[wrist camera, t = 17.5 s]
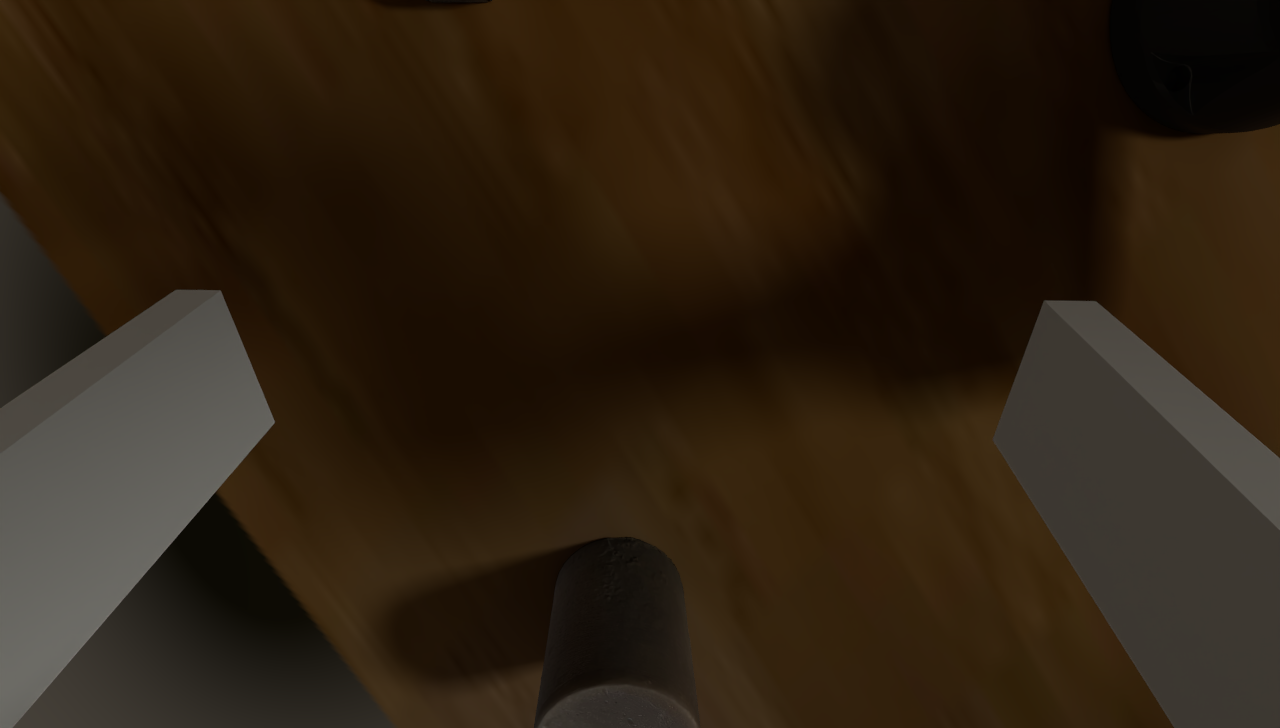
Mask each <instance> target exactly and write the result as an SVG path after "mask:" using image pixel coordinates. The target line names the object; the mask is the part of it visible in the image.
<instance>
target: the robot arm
mask: <svg viewBox="0 0 1280 728" xmlns="http://www.w3.org/2000/svg"><path fill="white" fill-rule="evenodd" d="M1110 39H1111V48H1112V54H1113V59H1114V62H1115V66H1116V69H1117V72H1118V75H1119V77H1120V80H1121V82H1122V84H1123V86H1124V88H1125V89H1126V91H1127V93H1128V94H1129V96H1130V97H1131V98H1132V100H1133V101H1134V102H1135V103H1136V105H1137V106H1138V107H1139V108H1140V109H1141V110H1142V111H1143V112H1145V113H1146V114H1147V115H1148V116H1150V117H1151V118H1153V119H1154V120H1156V121H1157V122H1159V123H1161V124H1163V125H1165V126H1167V127H1170V128H1172V129H1176V130H1179V131H1183V132H1188V133H1196V134H1214V133H1238V132H1248V131H1254V130H1259V129H1264V128H1268V127H1272V126H1275V125H1278V124H1280V0H1113V1H1112V7H1111V17H1110ZM274 423H275V421H274V419H273V416H272V414H271V411H270V409H269V407H268V404H267V402H266V399H265V397H264V394H263V392H262V390H261V387H260V385H259V382H258V380H257V377H256V375H255V373H254V370H253V368H252V365H251V363H250V360H249V358H248V356H247V353H246V351H245V348H244V346H243V343H242V341H241V339H240V336H239V334H238V331H237V329H236V326H235V324H234V322H233V319H232V317H231V314H230V312H229V309H228V307H227V305H226V302H225V300H224V297H223V295H222V292H221V290H175V291H173V292H172V293H170V294H169V295H168V296H166V297H165V298H163V299H162V300H160V301H159V302H157V303H156V304H154V305H153V306H151V307H150V308H148V309H147V310H145V311H144V312H142V313H141V314H139V315H138V316H136V317H135V318H133V319H132V320H130V321H129V322H127V323H126V324H125V325H123V326H122V327H120V328H119V329H117V330H116V331H114V332H113V333H111V334H110V335H108V336H107V337H105V338H104V339H102V340H101V341H99V342H98V343H97V344H95V345H93V346H92V347H90V348H89V349H88V350H86V351H85V352H83V353H81V354H80V355H79V356H77V357H76V358H74V359H73V360H71V361H70V362H68V363H67V364H65V365H64V366H62V367H61V368H59V369H58V370H56V371H55V372H53V373H52V374H50V375H49V376H47V377H46V378H44V379H43V380H41V381H40V382H39V383H37V384H36V385H34V386H33V387H31V388H30V389H28V390H27V391H25V392H24V393H22V394H21V395H20V396H18V397H16V398H15V399H13V400H12V401H10V402H9V403H7V404H6V405H5V406H3V407H1V408H0V728H13V727H14V726H15V724H16V723H17V722H18V721H19V720H20V719H21V717H22V716H23V715H24V714H25V713H26V712H27V710H28V709H29V708H30V707H31V706H32V705H33V703H34V702H35V701H36V700H37V699H38V697H39V696H40V695H41V694H42V693H43V692H44V691H45V690H46V688H47V687H48V686H49V685H50V684H51V683H52V681H53V680H54V679H55V678H56V677H57V675H58V674H59V673H60V672H61V671H62V670H63V669H64V667H65V666H66V665H67V664H68V663H69V662H70V660H71V659H72V658H73V657H74V656H75V655H76V653H77V652H78V651H79V650H80V649H81V648H82V646H83V645H84V644H85V643H86V642H87V641H88V639H89V638H90V637H91V636H92V635H93V634H94V632H95V631H96V630H97V629H98V628H99V627H100V626H101V624H102V623H103V622H104V621H105V620H106V619H107V617H108V616H109V615H110V614H111V613H112V612H113V610H114V609H115V608H116V607H117V606H118V605H119V603H120V602H121V601H122V599H124V598H125V596H126V595H127V594H128V593H129V592H130V591H131V589H132V588H133V587H134V586H135V585H136V583H137V582H138V581H139V580H140V579H141V578H142V577H143V575H144V574H145V573H146V572H147V571H148V570H149V568H150V567H151V566H152V565H153V564H154V563H155V562H156V560H157V559H158V558H159V557H160V556H161V555H162V553H163V552H164V551H165V550H166V548H168V546H169V545H170V544H171V543H172V542H173V541H174V539H175V538H176V537H177V536H178V535H179V534H180V532H181V531H182V530H183V529H184V528H185V527H186V525H187V524H188V523H189V522H190V521H191V520H192V518H193V517H194V516H195V515H196V514H197V513H198V511H199V510H200V509H201V508H202V507H203V506H204V504H205V503H206V502H207V501H208V500H209V499H210V498H211V496H212V495H213V494H214V493H215V492H216V491H217V489H218V488H219V487H220V486H221V485H222V484H223V482H224V481H225V480H226V479H227V478H228V477H229V475H230V474H231V473H232V472H233V471H234V470H235V468H236V467H237V466H238V465H239V464H240V463H241V461H242V460H243V459H244V458H245V457H246V456H247V454H248V453H249V452H250V451H251V450H252V449H253V447H254V446H255V445H256V444H257V443H258V442H259V441H260V439H261V438H262V437H263V436H264V435H265V434H266V432H267V431H268V430H269V429H270V428H271V427H272V425H273V424H274ZM993 441H994V443H995V444H996V446H997V447H998V449H999V450H1000V452H1001V454H1002V455H1003V457H1004V458H1005V460H1006V462H1007V463H1008V465H1009V466H1010V468H1011V469H1012V471H1013V473H1014V474H1015V476H1016V477H1017V479H1018V481H1019V482H1020V484H1021V485H1022V487H1023V489H1024V490H1025V492H1026V493H1027V495H1028V496H1029V498H1030V500H1031V501H1032V503H1033V504H1034V506H1035V508H1036V509H1037V511H1038V512H1039V514H1040V515H1041V517H1042V519H1043V520H1044V522H1045V523H1046V525H1047V527H1048V528H1049V530H1050V531H1051V533H1052V534H1053V536H1054V538H1055V539H1056V541H1057V542H1058V544H1059V546H1060V547H1061V549H1062V550H1063V552H1064V554H1065V555H1066V557H1067V558H1068V560H1069V561H1070V563H1071V565H1072V566H1073V568H1074V569H1075V571H1076V573H1077V574H1078V576H1079V577H1080V579H1081V580H1082V582H1083V584H1084V585H1085V587H1086V588H1087V590H1088V592H1089V593H1090V595H1091V596H1092V598H1093V600H1094V601H1095V603H1096V604H1097V606H1098V607H1099V609H1100V611H1101V612H1102V614H1103V615H1104V617H1105V619H1106V620H1107V622H1108V623H1109V625H1110V626H1111V628H1112V630H1113V631H1114V633H1115V634H1116V636H1117V638H1118V639H1119V641H1120V642H1121V644H1122V645H1123V647H1124V649H1125V650H1126V652H1127V653H1128V655H1129V657H1130V658H1131V660H1132V661H1133V663H1134V665H1135V666H1136V668H1137V669H1138V671H1139V672H1140V674H1141V676H1142V677H1143V679H1144V680H1145V682H1146V684H1147V685H1148V687H1149V688H1150V690H1151V691H1152V693H1153V695H1154V696H1155V698H1156V699H1157V701H1158V703H1159V704H1160V706H1161V707H1162V709H1163V710H1164V712H1165V714H1166V715H1167V717H1168V718H1169V720H1170V722H1171V723H1172V725H1173V726H1174V728H1280V458H1279V457H1278V456H1276V455H1275V454H1274V453H1273V452H1272V451H1271V450H1269V449H1268V448H1267V447H1266V446H1265V445H1264V444H1262V443H1261V442H1260V441H1259V440H1258V439H1256V438H1255V437H1254V436H1253V435H1252V434H1251V433H1249V432H1248V431H1247V430H1246V429H1245V428H1244V427H1242V426H1241V425H1240V424H1239V423H1238V422H1237V421H1235V420H1234V419H1233V418H1232V417H1231V416H1230V415H1228V414H1227V413H1226V412H1225V411H1224V410H1223V409H1221V408H1220V407H1219V406H1218V405H1217V404H1216V403H1214V402H1213V401H1212V400H1211V399H1210V398H1209V397H1207V396H1206V395H1205V394H1204V393H1203V392H1201V391H1200V390H1199V389H1198V388H1197V387H1196V386H1194V385H1193V384H1192V383H1191V382H1190V381H1189V380H1187V379H1186V378H1185V377H1184V376H1183V375H1182V374H1180V373H1179V372H1178V371H1177V370H1176V369H1175V368H1173V367H1172V366H1171V365H1170V364H1169V363H1168V362H1166V361H1165V360H1164V359H1163V358H1162V357H1161V356H1159V355H1158V354H1157V353H1156V352H1155V351H1154V350H1152V349H1151V348H1150V347H1149V346H1148V345H1146V344H1145V343H1144V342H1143V341H1142V340H1141V339H1139V338H1138V337H1137V336H1136V335H1135V334H1134V333H1132V332H1131V331H1130V330H1129V329H1128V328H1127V327H1125V326H1124V325H1123V324H1122V323H1121V322H1120V321H1118V320H1117V319H1116V318H1115V317H1114V316H1113V315H1111V314H1110V313H1109V312H1108V311H1107V310H1106V309H1104V308H1103V307H1102V306H1101V305H1100V304H1099V303H1097V302H1096V301H1044V302H1043V305H1042V307H1041V310H1040V313H1039V315H1038V318H1037V321H1036V324H1035V326H1034V329H1033V332H1032V334H1031V337H1030V340H1029V343H1028V345H1027V348H1026V351H1025V353H1024V356H1023V359H1022V362H1021V364H1020V367H1019V370H1018V372H1017V375H1016V378H1015V381H1014V383H1013V386H1012V389H1011V391H1010V394H1009V397H1008V400H1007V402H1006V405H1005V408H1004V410H1003V413H1002V416H1001V419H1000V421H999V424H998V427H997V429H996V432H995V435H994V438H993Z"/></svg>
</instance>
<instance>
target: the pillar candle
mask: <svg viewBox="0 0 1280 728" xmlns="http://www.w3.org/2000/svg"><path fill="white" fill-rule="evenodd" d="M534 728H700V720H699V711H698V703H697V695H696V686H695V679H694V672H693V664H692V655H691V645H690V638H689V633H688V625H687V615H686V608H685V601H684V591H683V586H682V583H681V580H680V575H679V573H678V571H677V568H676V567H675V565H674V564H673V562H672V561H671V559H670V558H668V557H667V555H666V554H665V553H663V552H662V551H661V550H659V549H658V548H656V547H655V546H652V545H650V544H647V543H645V542H644V541H641V540H637V539H634V538H607V539H602V540H599V541H596V542H592V543H590V544H588V545H586V546H584V547H582V548H581V549H579V550H578V551H576V552H575V553H574V554H573V555H572V556H570V558H569V559H568V560H567V561H566V562H565V563H564V565H563V567H562V568H561V570H560V572H559V575H558V578H557V581H556V586H555V591H554V599H553V606H552V612H551V619H550V626H549V632H548V639H547V646H546V652H545V659H544V665H543V671H542V677H541V685H540V692H539V698H538V704H537V710H536V717H535V724H534Z"/></svg>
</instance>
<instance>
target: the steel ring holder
mask: <svg viewBox="0 0 1280 728" xmlns="http://www.w3.org/2000/svg"><path fill="white" fill-rule="evenodd" d="M427 1H428V0H427ZM429 1H431V2H487V0H429ZM491 1H492V0H491Z"/></svg>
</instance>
